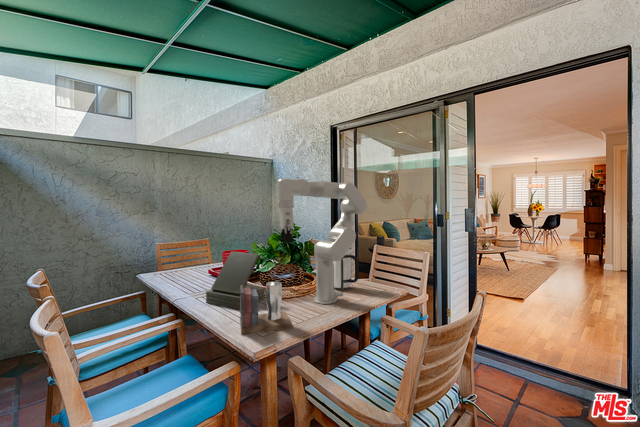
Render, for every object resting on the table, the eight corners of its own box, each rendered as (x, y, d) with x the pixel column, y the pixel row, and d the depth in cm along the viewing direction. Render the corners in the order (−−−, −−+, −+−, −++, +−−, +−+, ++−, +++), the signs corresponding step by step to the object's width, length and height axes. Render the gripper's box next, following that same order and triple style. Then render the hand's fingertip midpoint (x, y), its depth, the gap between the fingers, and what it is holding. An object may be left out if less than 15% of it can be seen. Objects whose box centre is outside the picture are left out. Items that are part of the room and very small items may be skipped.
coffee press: (328, 292, 171) (328, 240, 170) (328, 284, 187) (328, 237, 186) (358, 292, 171) (358, 240, 170) (356, 284, 187) (356, 237, 186)
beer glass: (274, 314, 132) (274, 280, 132) (285, 317, 128) (285, 283, 127) (262, 318, 127) (262, 283, 126) (273, 322, 122) (273, 286, 122)
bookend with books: (285, 315, 135) (285, 280, 135) (291, 327, 122) (291, 289, 122) (240, 321, 130) (239, 284, 129) (241, 334, 116) (240, 293, 116)
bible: (206, 303, 155) (205, 255, 154) (233, 293, 172) (233, 250, 171) (239, 310, 144) (238, 259, 143) (265, 299, 161) (264, 253, 160)
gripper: (297, 205, 134) (297, 242, 135) (290, 205, 151) (290, 238, 151) (280, 205, 132) (281, 243, 132) (275, 205, 148) (275, 239, 149)
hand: (286, 241), depth 142 cm, fingers open, 9 cm apart
